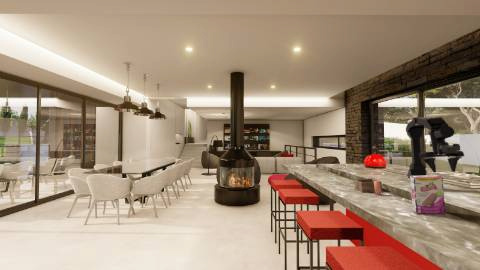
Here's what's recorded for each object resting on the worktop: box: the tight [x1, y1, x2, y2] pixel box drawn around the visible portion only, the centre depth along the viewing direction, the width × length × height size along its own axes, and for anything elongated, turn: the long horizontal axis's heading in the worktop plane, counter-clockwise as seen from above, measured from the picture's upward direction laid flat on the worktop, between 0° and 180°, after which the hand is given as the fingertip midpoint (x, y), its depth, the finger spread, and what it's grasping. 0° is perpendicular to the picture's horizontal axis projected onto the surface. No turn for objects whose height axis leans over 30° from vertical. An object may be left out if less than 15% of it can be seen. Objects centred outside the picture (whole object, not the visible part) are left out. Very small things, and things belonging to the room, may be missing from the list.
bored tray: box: [353, 178, 383, 193], centre depth 165 cm, size 12×12×6 cm
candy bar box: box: [409, 174, 446, 215], centre depth 113 cm, size 11×5×16 cm, turn 74°
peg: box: [374, 180, 382, 196], centre depth 151 cm, size 3×3×8 cm
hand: (444, 172), depth 126 cm, fingers open, 9 cm apart
